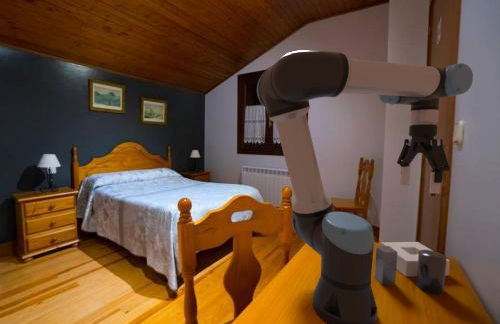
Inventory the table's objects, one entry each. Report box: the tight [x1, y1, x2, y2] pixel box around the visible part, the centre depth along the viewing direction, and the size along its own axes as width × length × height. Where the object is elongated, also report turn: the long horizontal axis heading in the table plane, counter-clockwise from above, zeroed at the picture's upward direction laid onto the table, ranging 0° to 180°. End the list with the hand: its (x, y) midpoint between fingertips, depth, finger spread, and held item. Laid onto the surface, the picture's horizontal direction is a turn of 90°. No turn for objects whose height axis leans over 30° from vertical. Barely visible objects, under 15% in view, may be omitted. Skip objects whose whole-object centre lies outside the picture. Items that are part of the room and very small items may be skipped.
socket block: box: [380, 241, 451, 277], centre depth 84 cm, size 14×14×5 cm
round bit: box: [415, 249, 448, 296], centre depth 71 cm, size 6×6×10 cm
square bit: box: [374, 245, 397, 286], centre depth 74 cm, size 4×4×10 cm
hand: (418, 188), depth 82 cm, fingers open, 13 cm apart
